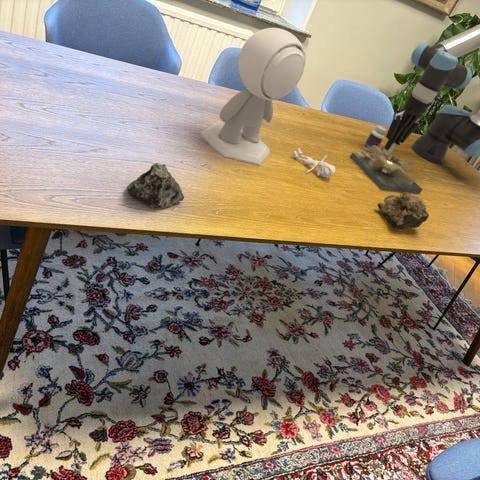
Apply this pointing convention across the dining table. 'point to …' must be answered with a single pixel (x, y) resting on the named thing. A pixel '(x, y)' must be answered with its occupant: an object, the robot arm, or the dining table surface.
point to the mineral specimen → (404, 211)
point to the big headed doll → (257, 94)
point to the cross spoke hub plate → (383, 175)
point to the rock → (156, 187)
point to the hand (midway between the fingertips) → (383, 157)
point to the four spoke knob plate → (391, 165)
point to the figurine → (316, 164)
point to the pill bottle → (374, 138)
